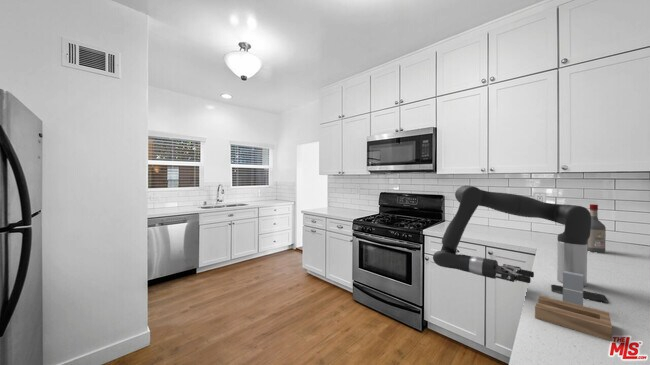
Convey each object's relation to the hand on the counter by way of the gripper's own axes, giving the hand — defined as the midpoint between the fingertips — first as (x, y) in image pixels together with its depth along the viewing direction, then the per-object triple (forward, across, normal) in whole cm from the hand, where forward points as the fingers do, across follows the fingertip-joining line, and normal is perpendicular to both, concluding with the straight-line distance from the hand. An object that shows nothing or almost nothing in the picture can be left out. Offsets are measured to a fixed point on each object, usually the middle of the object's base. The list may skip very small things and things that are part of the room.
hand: (532, 277), depth 97 cm
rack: (+11, -15, +7) cm, 20 cm away
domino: (+11, 0, +7) cm, 13 cm away
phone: (+12, +14, +7) cm, 20 cm away
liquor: (+18, +115, +7) cm, 117 cm away
